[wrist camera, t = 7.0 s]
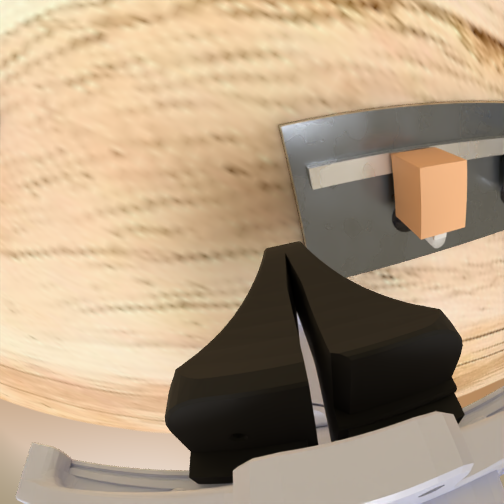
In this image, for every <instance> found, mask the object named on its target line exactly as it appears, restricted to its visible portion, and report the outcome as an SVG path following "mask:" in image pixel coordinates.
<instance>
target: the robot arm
mask: <svg viewBox="0 0 504 504" xmlns="http://www.w3.org/2000/svg"><path fill="white" fill-rule="evenodd" d="M462 346H463V344H462V338H461V336H460V335H459V333H458V332H457V330H456V329H455V327H454V326H453V324H452V323H451V322H450V320H449V319H448V318H447V317H446V316H445V315H444V313H443V312H442V311H441V310H440V309H436V308H430V307H425V306H420V305H414V304H410V303H406V302H403V301H399V300H396V299H392V298H389V297H386V296H384V295H381V294H378V293H376V292H373V291H371V290H369V289H366V288H364V287H362V286H360V285H358V284H356V283H354V282H352V281H350V280H348V279H347V278H345V277H343V276H342V275H340V274H339V273H337V272H336V271H334V270H333V269H332V268H330V267H329V266H328V265H326V264H325V263H324V262H322V261H321V260H320V259H319V258H318V257H316V256H315V255H314V254H313V253H312V252H311V251H310V250H308V249H307V248H306V247H305V246H304V245H303V244H302V243H301V242H299V241H298V242H294V243H289V244H285V245H280V246H276V247H271V248H267V249H266V250H265V251H264V255H263V259H262V262H261V265H260V268H259V271H258V273H257V276H256V278H255V281H254V283H253V285H252V287H251V289H250V291H249V293H248V295H247V296H246V298H245V300H244V301H243V303H242V305H241V306H240V308H239V309H238V311H237V312H236V314H235V315H234V316H233V318H232V319H231V320H230V321H229V323H228V324H227V325H226V326H225V327H224V329H223V330H222V331H221V332H220V333H219V334H218V335H217V336H216V337H215V338H214V339H213V340H212V341H211V342H210V343H209V344H208V345H207V346H205V347H204V348H203V349H202V350H201V351H200V352H199V353H197V354H196V355H195V356H193V357H192V358H191V359H189V360H188V361H187V362H185V363H184V364H183V365H182V366H180V367H179V368H177V369H176V370H175V374H174V377H173V380H172V383H171V387H170V390H169V395H168V401H167V407H166V414H165V422H166V425H167V427H168V428H169V430H170V431H171V432H172V433H173V434H174V435H175V436H176V437H177V438H178V439H179V440H180V441H181V442H182V443H183V444H184V445H185V446H186V447H187V448H188V449H189V450H190V451H191V456H190V470H189V471H182V470H180V471H179V470H151V469H138V468H126V467H117V466H110V465H102V464H96V463H89V462H84V461H78V460H73V459H71V458H70V457H69V456H68V455H67V454H65V453H64V452H62V451H61V450H59V449H57V448H55V447H52V446H48V445H43V444H39V443H35V442H34V443H32V444H31V447H30V450H29V453H28V456H27V459H26V463H25V466H24V469H23V472H22V476H21V479H20V482H19V486H18V490H17V494H16V499H17V500H19V501H20V502H22V503H24V504H504V488H503V485H502V482H501V480H500V476H501V475H503V474H504V386H503V387H501V388H500V389H498V390H496V391H494V392H492V393H491V394H489V395H487V396H485V397H483V398H482V399H480V400H478V401H476V402H474V403H472V404H470V405H468V406H466V407H464V408H461V406H460V403H459V402H458V400H457V398H456V396H455V394H454V392H456V390H457V387H456V384H455V383H454V381H453V379H452V375H453V372H454V370H455V368H456V365H457V363H458V360H459V357H460V354H461V350H462Z"/></svg>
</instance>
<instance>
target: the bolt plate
mask: <svg viewBox="0 0 504 504" xmlns="http://www.w3.org/2000/svg"><path fill="white" fill-rule="evenodd" d="M278 126H279V130H280V134H281V138H282V142H283V146H284V150H285V155H286V159H287V163H288V168H289V172H290V177H291V181H292V186H293V190H294V195H295V200H296V204H297V209H298V214H299V219H300V224H301V229H302V234H303V239H304V244H305V247H306V248H307V249H308V250H310V251H311V252H312V253H313V254H314V255H315V256H316V257H318V258H319V259H320V260H321V261H322V262H324V263H325V264H326V265H328V266H329V267H330V268H332V269H333V270H334V271H336V272H337V273H339V274H340V275H342V276H343V277H345V278H346V277H350V276H354V275H358V274H361V273H365V272H369V271H372V270H376V269H380V268H383V267H387V266H390V265H394V264H397V263H401V262H404V261H408V260H411V259H415V258H418V257H421V256H425V255H428V254H431V253H435V252H438V251H441V250H444V249H448V248H451V247H454V246H457V245H460V244H463V243H467V242H470V241H473V240H476V239H479V238H482V237H485V236H488V235H491V234H494V233H497V232H500V231H503V230H504V101H457V102H435V103H420V104H408V105H398V106H388V107H380V108H371V109H364V110H357V111H350V112H344V113H337V114H331V115H326V116H320V117H315V118H309V119H304V120H299V121H294V122H290V123H285V124H280V125H278ZM431 147H436V148H439V149H441V150H444V151H446V152H449V153H451V154H454V155H456V156H458V157H461V158H463V159H465V160H467V203H466V220H465V227H464V228H460V229H457V230H453V231H450V232H447V235H446V239H445V242H444V244H443V245H442V246H441V247H439V248H434V247H433V246H432V245H430V244H429V243H428V242H427V241H426V240H425V239H422V240H421V239H420V238H419V237H418V236H417V235H416V234H415V233H414V232H412V231H411V230H410V229H409V228H408V227H407V226H406V225H405V224H404V223H403V222H402V221H401V220H400V219H399V218H397V217H396V209H395V193H394V180H393V169H392V159H391V154H393V153H399V152H405V151H412V150H418V149H425V148H431Z"/></svg>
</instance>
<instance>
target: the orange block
mask: <svg viewBox="0 0 504 504" xmlns="http://www.w3.org/2000/svg"><path fill="white" fill-rule="evenodd" d="M391 159H392V169H393V180H394V193H395V209H396V217H397V218H399V219H400V220H401V221H402V222H403V223H404V224H405V225H406V226H407V227H408V228H409V229H410V230H411V231H412V232H414V233H415V234H416V235H417V236H418V237H419V238H420V239H421V240H422V239H425V240H426V241H427V242H428V243H429V244H430V245H432V246H433V247H434V248H439V247H441V246H442V245H443V244H444V242H445V239H446V235H447V232H450V231H453V230H457V229H460V228H464V227H465V220H466V203H467V160H465V159H463V158H461V157H458V156H456V155H454V154H451V153H449V152H446V151H444V150H441V149H439V148H436V147H431V148H425V149H418V150H412V151H405V152H399V153H393V154H391Z"/></svg>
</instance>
